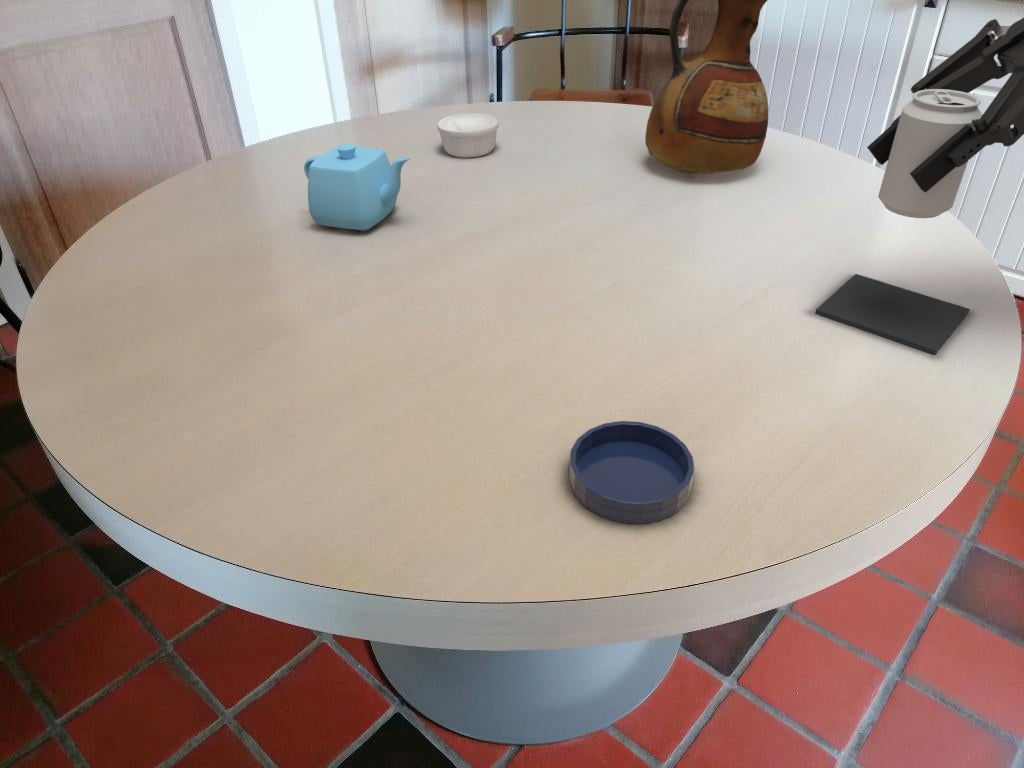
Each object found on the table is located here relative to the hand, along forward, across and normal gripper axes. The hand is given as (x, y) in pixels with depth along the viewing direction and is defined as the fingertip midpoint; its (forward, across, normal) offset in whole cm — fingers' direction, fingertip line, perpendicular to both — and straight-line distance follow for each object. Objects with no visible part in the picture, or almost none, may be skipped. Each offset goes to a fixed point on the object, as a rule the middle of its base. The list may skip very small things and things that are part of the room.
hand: (895, 168), depth 80 cm
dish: (+37, -22, +11) cm, 45 cm away
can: (+1, 0, -6) cm, 6 cm away
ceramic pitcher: (+13, +53, -14) cm, 56 cm away
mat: (+9, 0, -17) cm, 19 cm away
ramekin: (+41, +70, +14) cm, 82 cm away
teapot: (+55, +42, +28) cm, 74 cm away
